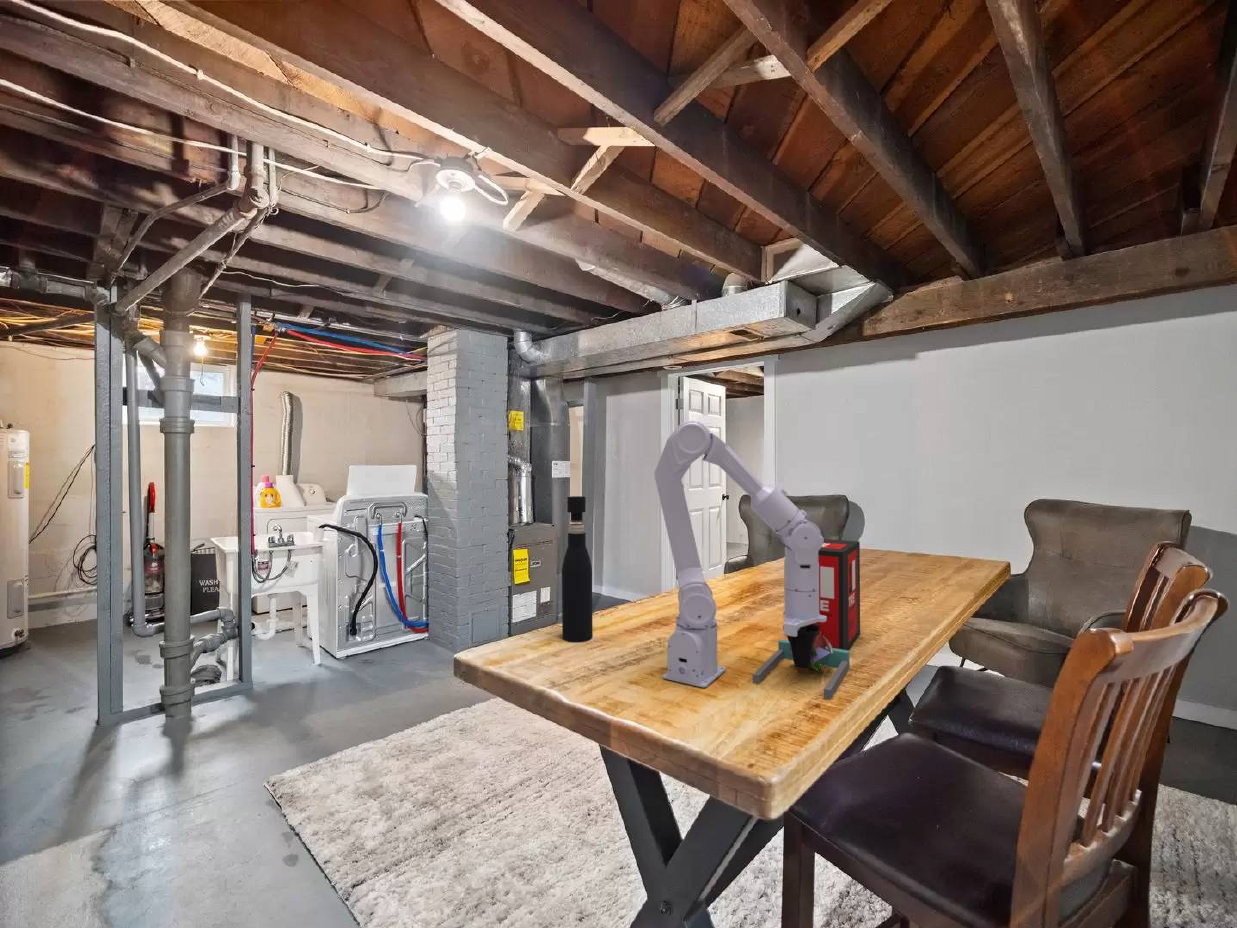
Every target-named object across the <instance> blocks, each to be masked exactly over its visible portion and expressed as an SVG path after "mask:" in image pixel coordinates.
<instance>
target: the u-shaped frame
mask: <svg viewBox="0 0 1237 928" xmlns="http://www.w3.org/2000/svg"><path fill="white" fill-rule="evenodd" d="M789 650H790V651H791V645H790V643H789V640H787V639H783V638H781V639H779V640H778V649H777V650H775V652H774V653H773V654H772V655H771V656H770V657H769V658H767V660H766V661H765V662H764V663H763V664H762V665H760V667H759V668H757V669H756V670H755V672H753V674H752V684H754V683H756V685H760V684H761V683H762V682H763V680H765V679H766V678H767V676H768V675H769V674H771V672H772V671H773V670H774V669H775V668H776V667H777V666H778V665H779V664H780V663H781V662H782V661H783V660H784V659H786V658H788V659H787V660H791V659H793V655H792V654H791V653H789ZM826 650H827V647H826ZM832 650H833V654H829V655H827V656H825V657H824V658H822V659H821V660H819V662H820V664H821V666H823V665H826V666H825V667H829V666H830V667H829V668H835V670H834V672H833V674H832V676H830V679H829V680H828V681H827V683H826V685H825V687H824V688H823V699H824V700H829V701H831V700H832V698H833V697H834V694H835V693H836V691H837V690H838V688H839V686H840V685H841V682H842V681H843V679H844V678H845V676H846V674H847V673H848V671H849V669H850V668H851V665H850V660H851V659H850V650H849V651H848V650H842V649H836V648H832ZM829 657H830V658H829ZM826 658H827V660H826ZM781 660H782V661H781ZM780 661H781V662H780ZM779 662H780V663H779ZM827 662H828V663H827ZM778 663H779V664H778ZM825 663H826V664H825ZM777 664H778V665H777ZM776 665H777V666H776ZM775 666H776V667H775ZM773 668H774V669H773ZM772 669H773V670H772ZM771 670H772V671H771ZM770 671H771V672H770ZM767 674H768V675H767ZM766 675H767V676H766ZM761 681H762V682H761ZM760 682H761V683H760ZM759 683H760V684H759Z"/></svg>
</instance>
